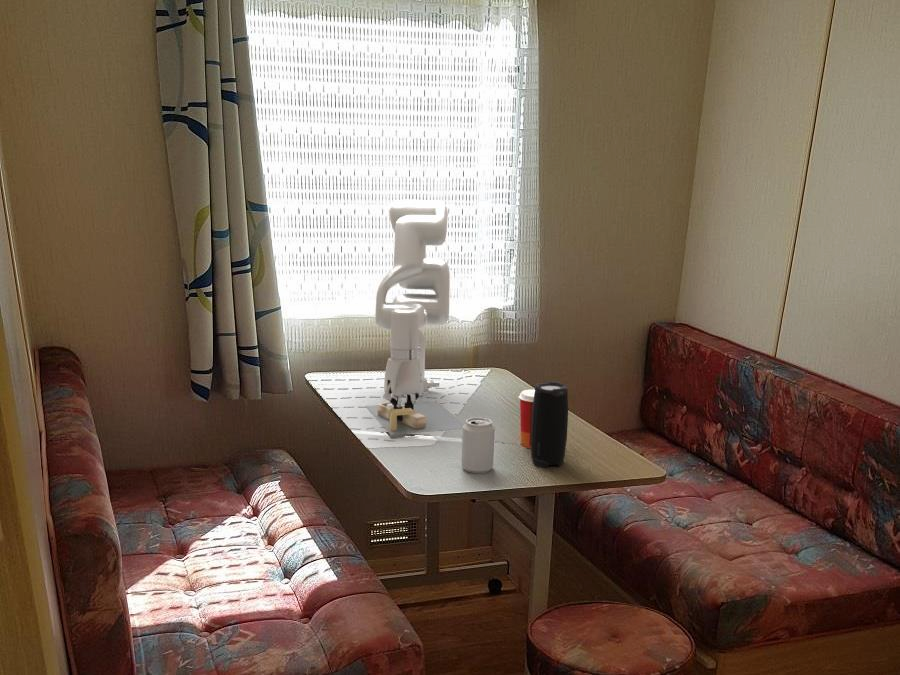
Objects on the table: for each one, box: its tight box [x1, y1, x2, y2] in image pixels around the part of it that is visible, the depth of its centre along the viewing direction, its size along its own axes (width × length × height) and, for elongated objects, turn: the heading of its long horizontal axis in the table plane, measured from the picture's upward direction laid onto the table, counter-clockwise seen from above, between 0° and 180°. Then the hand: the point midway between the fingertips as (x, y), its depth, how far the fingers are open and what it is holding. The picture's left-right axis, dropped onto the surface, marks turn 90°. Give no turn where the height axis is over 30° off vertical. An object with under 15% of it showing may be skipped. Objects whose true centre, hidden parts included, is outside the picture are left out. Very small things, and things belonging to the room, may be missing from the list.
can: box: [461, 417, 496, 474], centre depth 191 cm, size 8×8×12 cm
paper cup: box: [518, 389, 535, 449], centre depth 209 cm, size 8×8×14 cm
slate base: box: [365, 400, 466, 439], centre depth 228 cm, size 22×27×6 cm
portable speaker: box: [530, 381, 569, 469], centre depth 196 cm, size 9×9×20 cm
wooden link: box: [377, 401, 426, 429], centre depth 224 cm, size 17×5×3 cm, turn 40°
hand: (403, 418), depth 224 cm, fingers closed on wooden link, 3 cm apart
